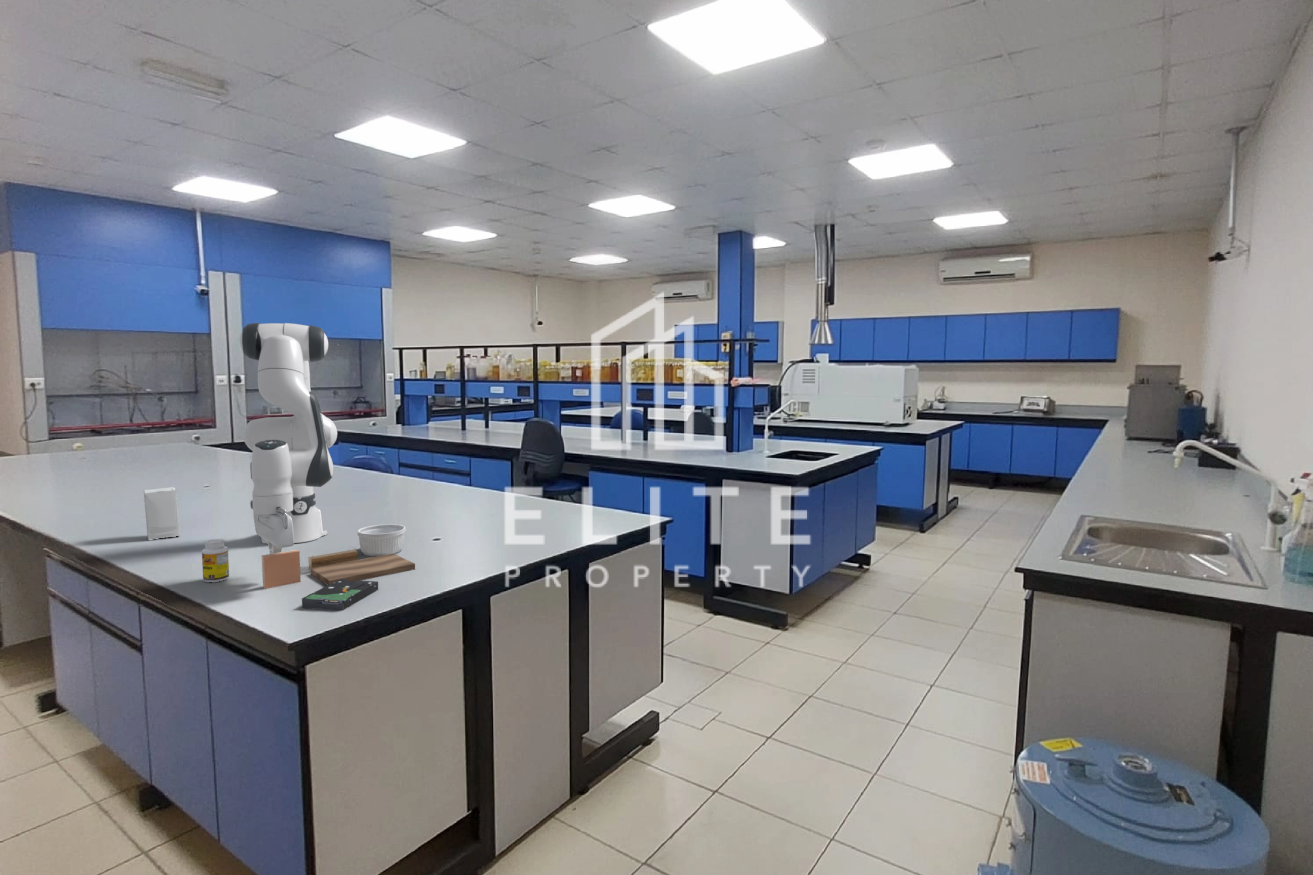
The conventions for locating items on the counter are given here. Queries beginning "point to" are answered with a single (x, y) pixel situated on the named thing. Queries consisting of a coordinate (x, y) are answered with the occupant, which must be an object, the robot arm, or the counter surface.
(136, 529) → the counter surface
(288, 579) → the tile
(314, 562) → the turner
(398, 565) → the board
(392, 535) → the ramekin
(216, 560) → the supplement bottle
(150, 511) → the skincare box
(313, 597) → the disk drive
